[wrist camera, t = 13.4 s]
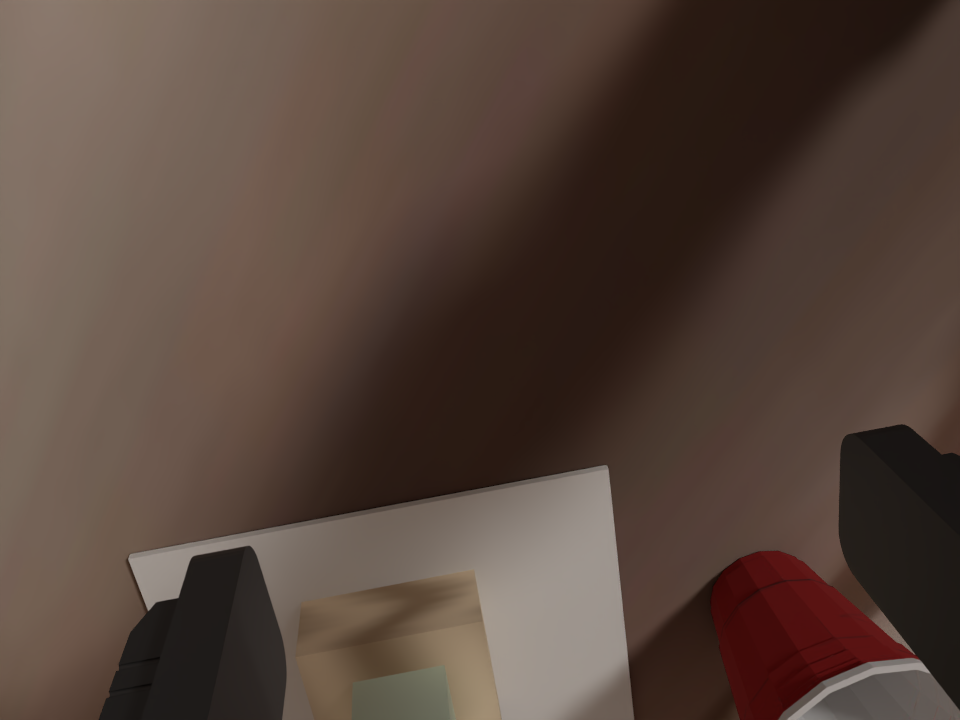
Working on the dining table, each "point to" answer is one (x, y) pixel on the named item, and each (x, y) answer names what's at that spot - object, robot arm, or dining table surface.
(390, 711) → the sage pillar
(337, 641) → the oak slab
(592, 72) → the dining table surface
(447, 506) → the flat white board
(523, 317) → the dining table surface
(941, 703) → the plastic cup
